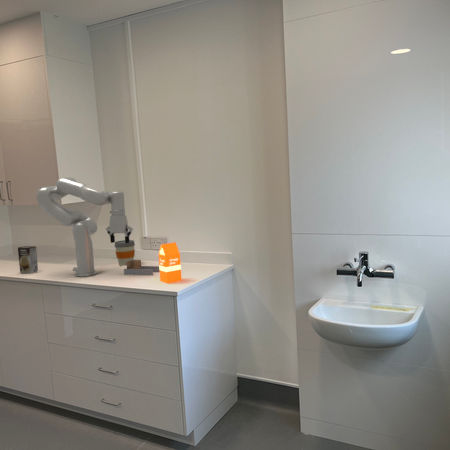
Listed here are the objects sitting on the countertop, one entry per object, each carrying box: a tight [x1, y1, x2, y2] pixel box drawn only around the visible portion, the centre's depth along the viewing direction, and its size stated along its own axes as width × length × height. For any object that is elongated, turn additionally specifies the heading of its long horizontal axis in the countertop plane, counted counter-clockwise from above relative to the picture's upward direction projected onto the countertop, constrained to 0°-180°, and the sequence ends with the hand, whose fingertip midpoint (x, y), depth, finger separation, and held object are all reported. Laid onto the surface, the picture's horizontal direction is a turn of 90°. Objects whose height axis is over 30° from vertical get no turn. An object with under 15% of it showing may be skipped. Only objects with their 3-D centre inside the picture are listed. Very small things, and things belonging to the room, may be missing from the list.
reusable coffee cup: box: [114, 239, 136, 267], centre depth 298 cm, size 13×12×15 cm
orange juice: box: [158, 242, 183, 284], centre depth 246 cm, size 8×9×20 cm
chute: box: [123, 265, 160, 276], centre depth 266 cm, size 18×9×4 cm, turn 70°
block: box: [126, 259, 142, 269], centre depth 267 cm, size 6×6×7 cm
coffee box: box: [17, 245, 39, 274], centre depth 289 cm, size 9×6×16 cm
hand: (119, 242), depth 268 cm, fingers open, 9 cm apart
